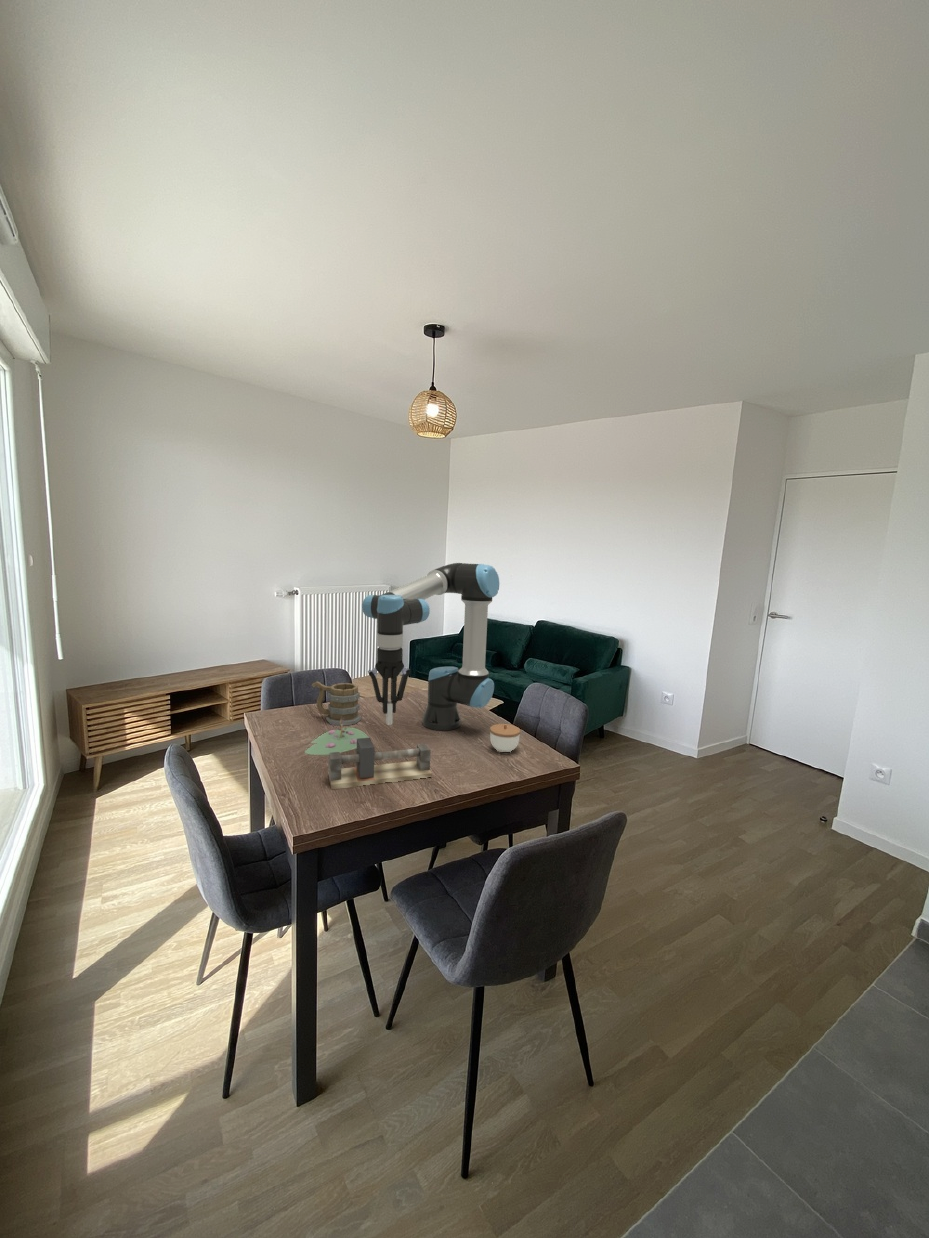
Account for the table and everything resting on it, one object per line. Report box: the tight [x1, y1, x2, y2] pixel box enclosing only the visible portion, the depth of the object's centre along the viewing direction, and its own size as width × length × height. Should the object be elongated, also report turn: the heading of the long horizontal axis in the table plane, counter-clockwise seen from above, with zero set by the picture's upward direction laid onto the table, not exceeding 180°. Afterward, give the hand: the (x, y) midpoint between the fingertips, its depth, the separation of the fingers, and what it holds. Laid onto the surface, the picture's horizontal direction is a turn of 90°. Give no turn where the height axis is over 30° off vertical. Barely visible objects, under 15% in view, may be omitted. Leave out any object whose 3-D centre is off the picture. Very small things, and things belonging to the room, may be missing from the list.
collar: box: [355, 737, 375, 778], centre depth 153 cm, size 4×8×9 cm, turn 20°
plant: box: [304, 716, 369, 756], centre depth 179 cm, size 25×21×9 cm
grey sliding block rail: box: [328, 743, 433, 790], centre depth 155 cm, size 30×10×8 cm, turn 110°
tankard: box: [311, 681, 362, 727], centre depth 203 cm, size 20×13×15 cm, turn 77°
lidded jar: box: [489, 723, 521, 753], centre depth 179 cm, size 11×11×9 cm
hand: (389, 723), depth 154 cm, fingers closed
